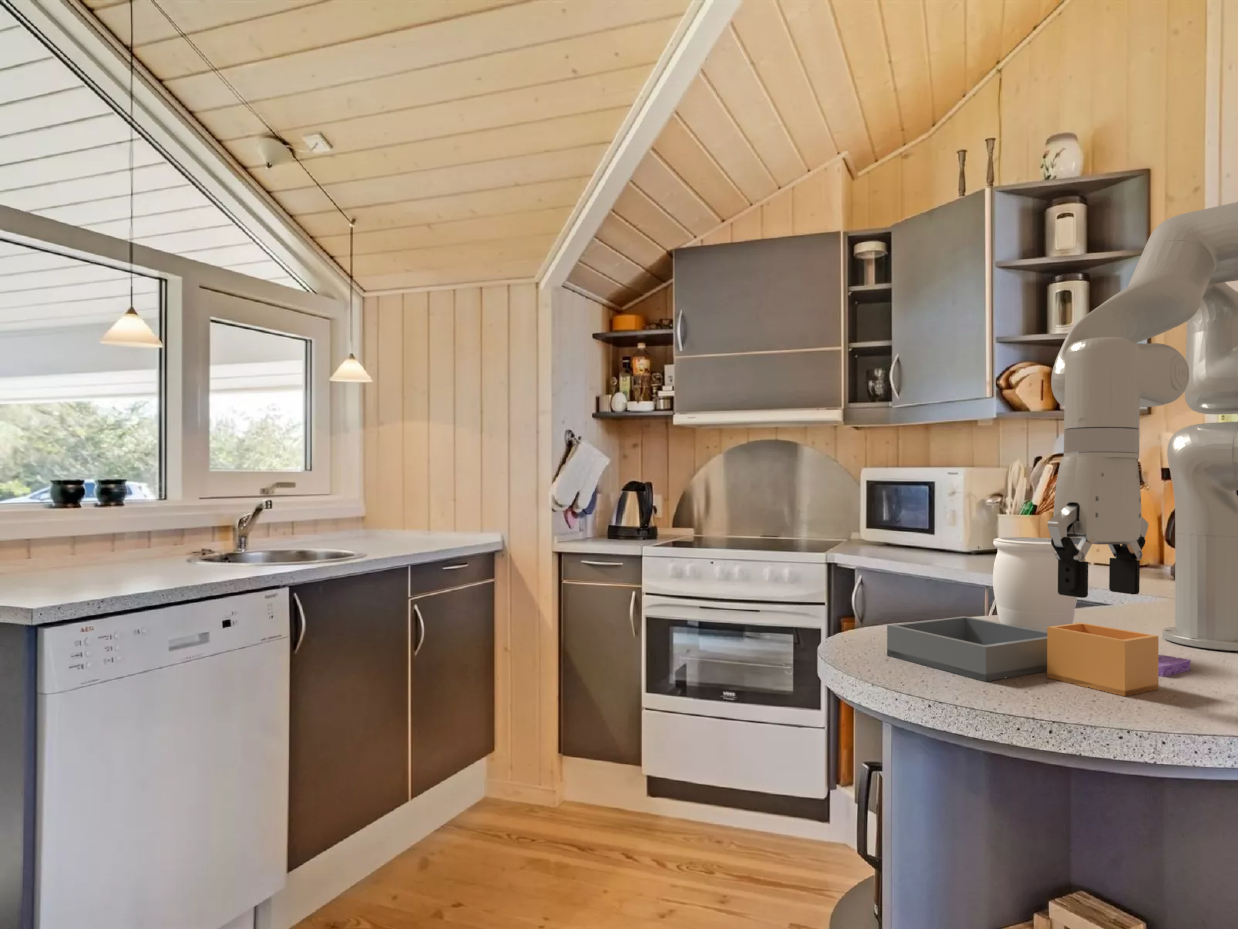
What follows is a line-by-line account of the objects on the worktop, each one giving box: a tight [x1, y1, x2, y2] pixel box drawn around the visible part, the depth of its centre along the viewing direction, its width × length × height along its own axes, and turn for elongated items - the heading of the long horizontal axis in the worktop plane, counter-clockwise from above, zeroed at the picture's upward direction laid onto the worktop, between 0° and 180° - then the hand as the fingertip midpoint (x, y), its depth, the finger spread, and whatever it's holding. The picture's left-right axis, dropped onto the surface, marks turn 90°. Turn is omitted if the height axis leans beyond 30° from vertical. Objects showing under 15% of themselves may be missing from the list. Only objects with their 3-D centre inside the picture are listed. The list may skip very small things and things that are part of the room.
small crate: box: [1046, 622, 1159, 697], centre depth 93 cm, size 6×9×6 cm
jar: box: [992, 536, 1079, 632], centre depth 112 cm, size 11×10×15 cm
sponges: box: [1158, 654, 1192, 678], centre depth 104 cm, size 7×13×2 cm, turn 31°
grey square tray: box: [886, 615, 1047, 682], centre depth 104 cm, size 15×15×4 cm
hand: (1098, 594), depth 93 cm, fingers open, 9 cm apart
